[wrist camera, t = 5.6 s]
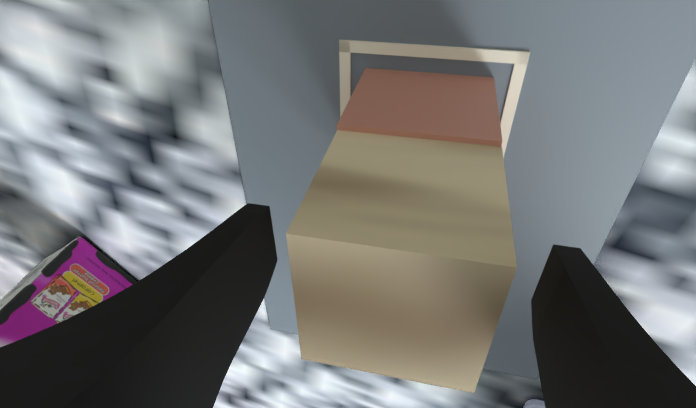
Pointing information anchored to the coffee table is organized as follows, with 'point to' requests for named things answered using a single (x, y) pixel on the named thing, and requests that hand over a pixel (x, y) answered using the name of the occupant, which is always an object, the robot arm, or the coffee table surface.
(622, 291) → the coffee table surface
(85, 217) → the coffee table surface
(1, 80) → the coffee table surface
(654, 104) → the grey flat plate
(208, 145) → the coffee table surface
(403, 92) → the brick-red base block
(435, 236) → the maple block
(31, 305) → the candy bar box
